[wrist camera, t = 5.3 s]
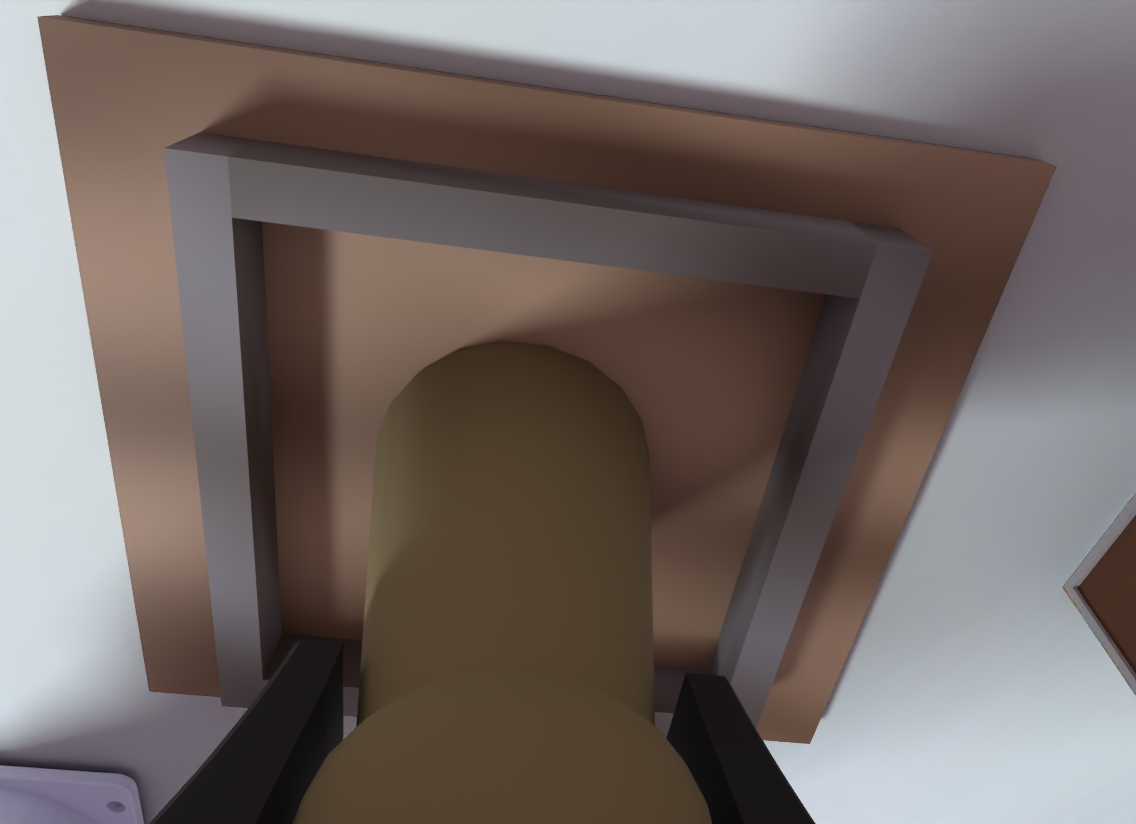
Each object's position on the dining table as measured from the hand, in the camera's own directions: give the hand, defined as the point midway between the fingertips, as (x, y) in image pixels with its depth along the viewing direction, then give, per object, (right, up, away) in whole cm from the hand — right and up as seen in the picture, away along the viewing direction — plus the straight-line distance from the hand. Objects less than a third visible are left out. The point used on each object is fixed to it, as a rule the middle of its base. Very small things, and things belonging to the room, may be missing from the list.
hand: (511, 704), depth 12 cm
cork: (0, +3, +5) cm, 7 cm away
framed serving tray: (0, +3, +6) cm, 7 cm away
